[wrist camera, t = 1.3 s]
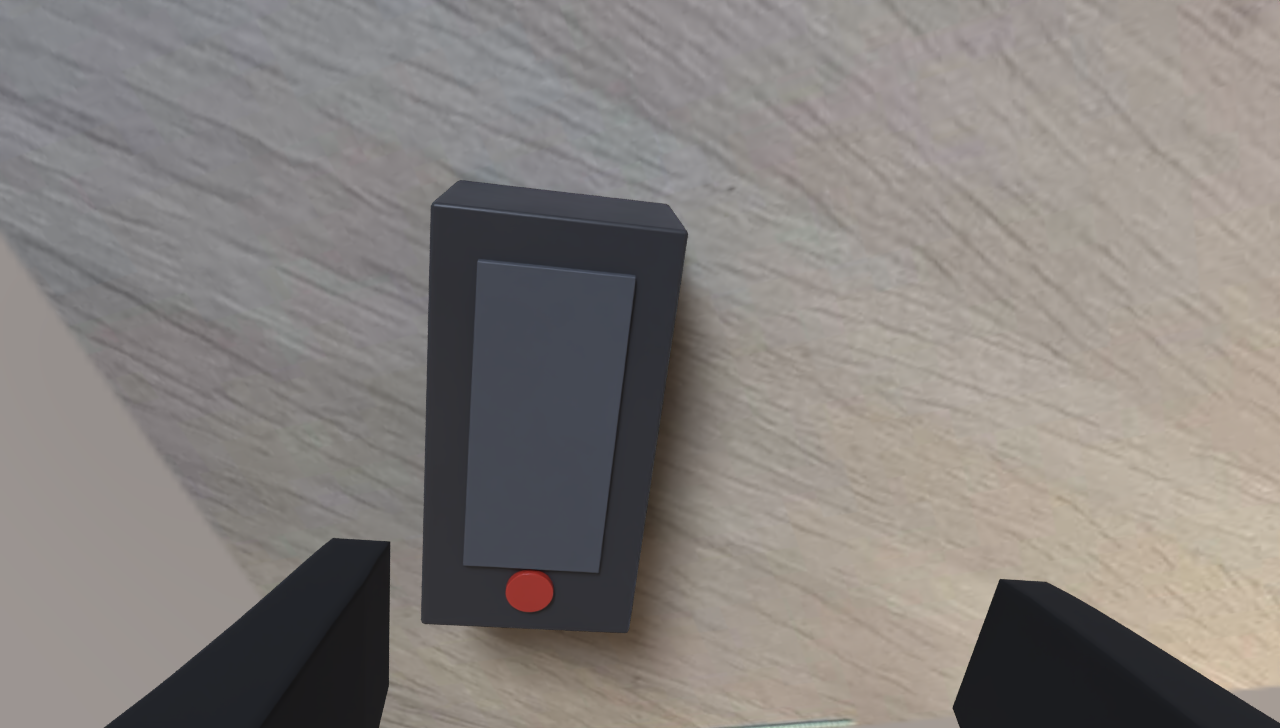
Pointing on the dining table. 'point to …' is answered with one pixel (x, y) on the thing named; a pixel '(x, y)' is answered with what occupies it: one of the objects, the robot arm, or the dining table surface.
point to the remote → (543, 403)
